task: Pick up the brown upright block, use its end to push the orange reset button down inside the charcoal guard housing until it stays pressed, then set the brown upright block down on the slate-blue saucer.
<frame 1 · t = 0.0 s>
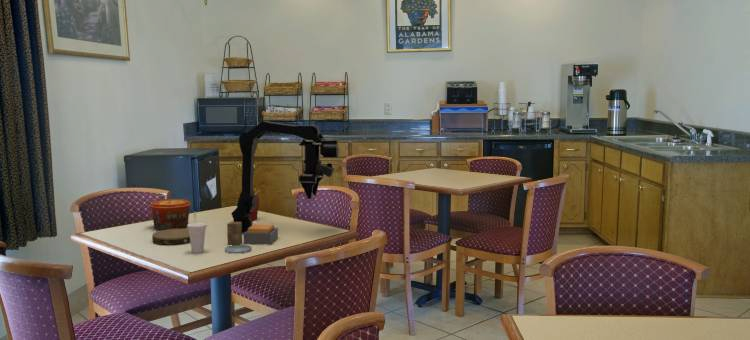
hand: (312, 197, 227), 15 cm above the table, fingers open, 9 cm apart
saucer: (238, 250, 203), on the table
food container: (171, 228, 238), on the table
guard housing: (261, 241, 216), on the table
smoothie: (197, 252, 200), on the table
french fries: (249, 221, 253), on the table
button: (261, 228, 216), point 5 cm above the table, slide at 0.0 cm
brown upright block: (234, 244, 211), on the table
tin can: (175, 241, 217), on the table
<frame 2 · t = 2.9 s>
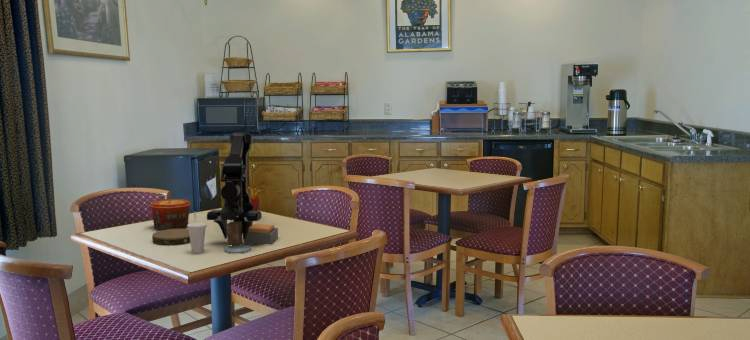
hand: (234, 238, 211), 2 cm above the table, fingers open, 6 cm apart
nothing on the table moved.
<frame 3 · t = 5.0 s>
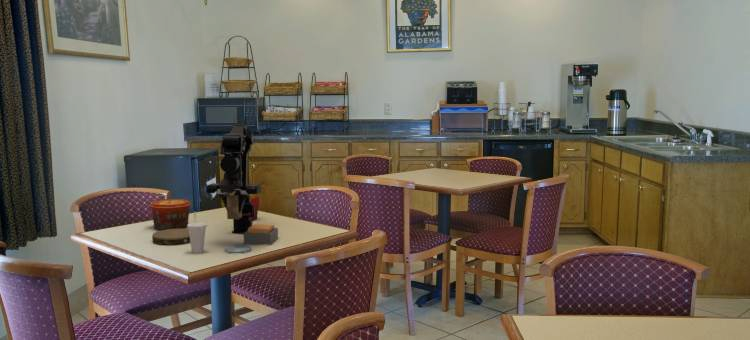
hand: (234, 212, 210), 12 cm above the table, fingers closed on brown upright block, 4 cm apart
brown upright block: (234, 218, 210), point 10 cm above the table, touching gripper
everything else where it was.
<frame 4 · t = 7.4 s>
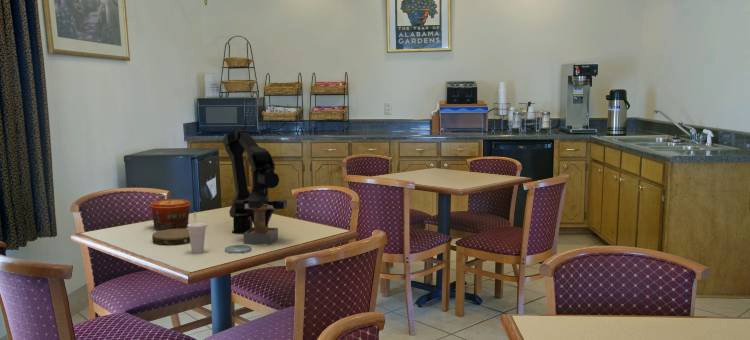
hand: (261, 226, 216), 6 cm above the table, fingers closed on brown upright block, 4 cm apart
button: (261, 233, 216), point 3 cm above the table, slide at 2.0 cm, touching brown upright block
brown upright block: (261, 231, 216), point 3 cm above the table, touching button, gripper
everything else where it was.
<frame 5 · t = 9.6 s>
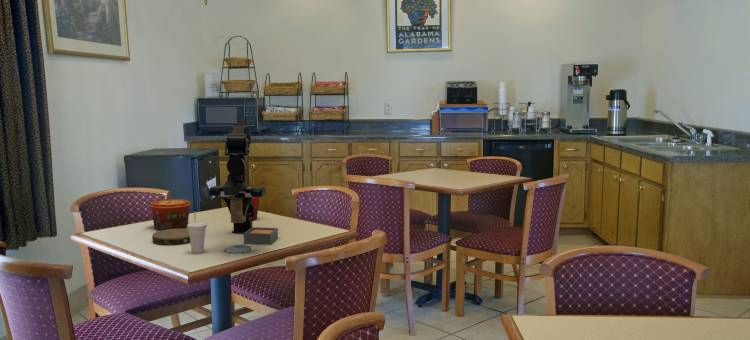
hand: (238, 215, 202), 12 cm above the table, fingers closed on brown upright block, 4 cm apart
button: (261, 233, 216), point 3 cm above the table, slide at 2.0 cm
brown upright block: (238, 221, 202), point 10 cm above the table, touching gripper
everything else where it was.
when the fingers open (4 cm above the table, at t = 11.3 s): brown upright block drops 2 cm, resting on saucer.
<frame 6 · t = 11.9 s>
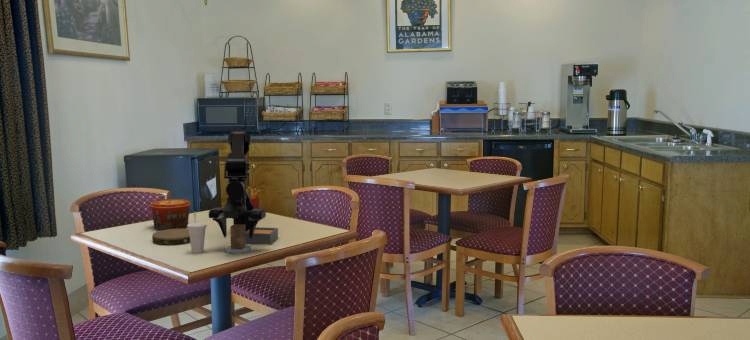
hand: (237, 237, 203), 4 cm above the table, fingers open, 9 cm apart
brown upright block: (238, 247, 203), point 1 cm above the table, touching saucer
everything else where it was.
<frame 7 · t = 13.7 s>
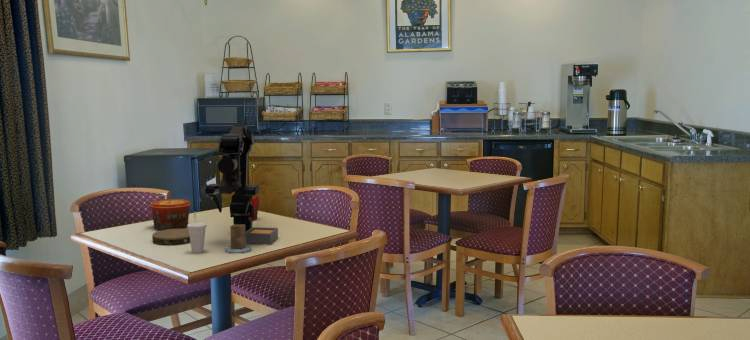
hand: (232, 212, 211), 12 cm above the table, fingers open, 9 cm apart
nothing on the table moved.
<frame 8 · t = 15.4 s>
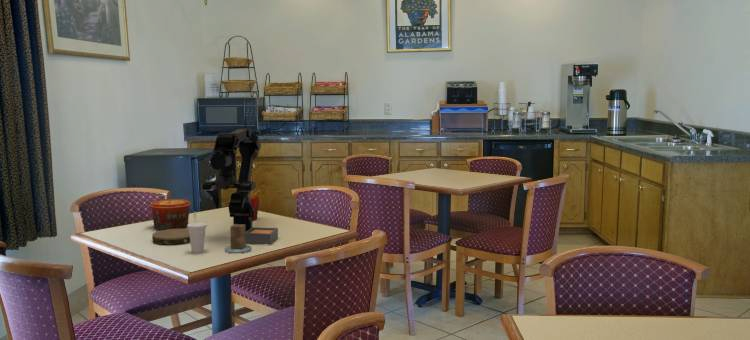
hand: (229, 208, 216), 12 cm above the table, fingers open, 9 cm apart
nothing on the table moved.
at the end: button slide at 2.0 cm; brown upright block 0.3 cm off-centre on the saucer, point 0.8 cm above the saucer's base; brown upright block tilted 0° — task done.
